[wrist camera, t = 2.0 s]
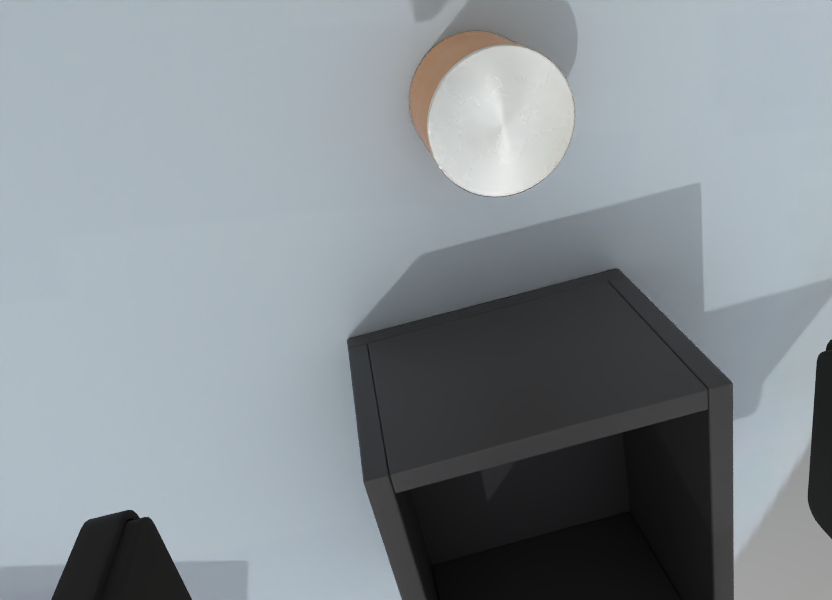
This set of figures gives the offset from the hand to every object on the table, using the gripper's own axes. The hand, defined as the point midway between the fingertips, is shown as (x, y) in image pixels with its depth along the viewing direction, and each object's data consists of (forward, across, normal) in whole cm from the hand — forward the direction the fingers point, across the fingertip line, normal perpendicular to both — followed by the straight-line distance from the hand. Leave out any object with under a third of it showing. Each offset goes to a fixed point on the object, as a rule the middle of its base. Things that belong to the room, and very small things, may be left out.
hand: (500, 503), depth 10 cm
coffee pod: (+18, -4, -2) cm, 19 cm away
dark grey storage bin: (+18, -3, +13) cm, 23 cm away
